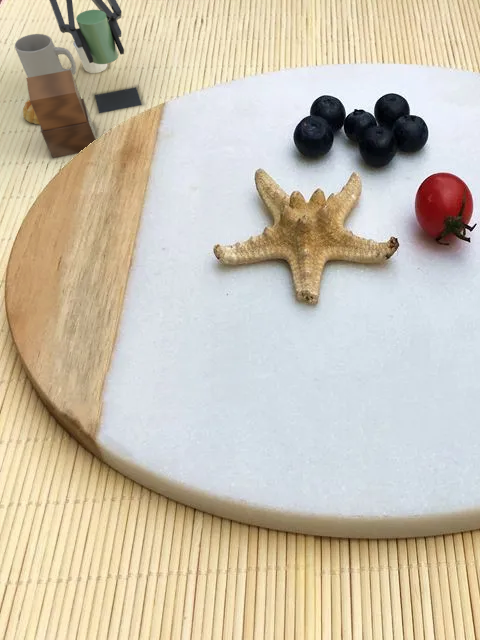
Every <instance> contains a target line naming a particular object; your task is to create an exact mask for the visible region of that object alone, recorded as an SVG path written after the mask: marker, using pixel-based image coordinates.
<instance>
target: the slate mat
mask: <svg viewBox="0 0 480 640" xmlns="http://www.w3.org/2000/svg"><path fill="white" fill-rule="evenodd" d="M94 97H95V102H96V106H97V109H98V114H102V113H107V112H113V111H118V110H123V109H129V108H134V107H139V106H142V105H143V104H142V101H141V98H140V94H139V91H138V88H137V87H130V88H125V89H119V90H115V91H109V92H103V93H99V94H94Z"/></svg>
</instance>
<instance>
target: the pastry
mask: <svg viewBox="0 0 480 640" xmlns="http://www.w3.org/2000/svg"><path fill="white" fill-rule="evenodd" d="M22 117H23V119H24V120H25V121H26V122H28V123H30V124H34V125H35V126H36V125H40V123H39V120H38V118H37V116H36V114H35V111H34V109H33V107H32V105H31V102H30V99H28V100H27V101H25V103H24V105H23V107H22Z"/></svg>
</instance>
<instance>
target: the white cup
mask: <svg viewBox="0 0 480 640" xmlns="http://www.w3.org/2000/svg"><path fill="white" fill-rule="evenodd" d="M72 45H73V47H74V49H75V51H76V53H77V56H78V58H79V60H80V62H81V64H82V67H83V69H84V71H86V72H87V73H90V74H96V73H101V72H103V71H106V69H107V68H108V63H107V64H96V63H93V62H92V63H89V61H88V58H87V56H86V54H85V52H84V49H83V47H80V48H78V47H77V46H76V44H75V41H74V40H73V43H72Z"/></svg>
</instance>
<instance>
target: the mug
mask: <svg viewBox="0 0 480 640" xmlns="http://www.w3.org/2000/svg"><path fill="white" fill-rule="evenodd" d="M14 48H15V51H16V54H17V56H18V58H19V60H20V63H21V66H22V68H23V70H24V73H25V75H26V78H29V77H34V76H40V75H45V74H51V73H57V72H62V71H68V70H71V72H72V75H73V76H74V75H75V74H76V71H77V64H76V61H75V59H74V56H73V54H72V53H71V52H70V50H69V49H67V48H65V47H62V46H61V47H59V46H55V44H54V42H53V40H52V38H51V37H50V36H49V35H47V34H43V33H33V34H32V33H31V34H27V35H24V36H22V37H20V38H19V39H17V40H16V42H15V43H14ZM60 55H61V56H62V55H64V56H66V57H67V58H68V60H69V63H70V68H64V67H63V65H62V62H61V59H60V58H59V56H60Z"/></svg>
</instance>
